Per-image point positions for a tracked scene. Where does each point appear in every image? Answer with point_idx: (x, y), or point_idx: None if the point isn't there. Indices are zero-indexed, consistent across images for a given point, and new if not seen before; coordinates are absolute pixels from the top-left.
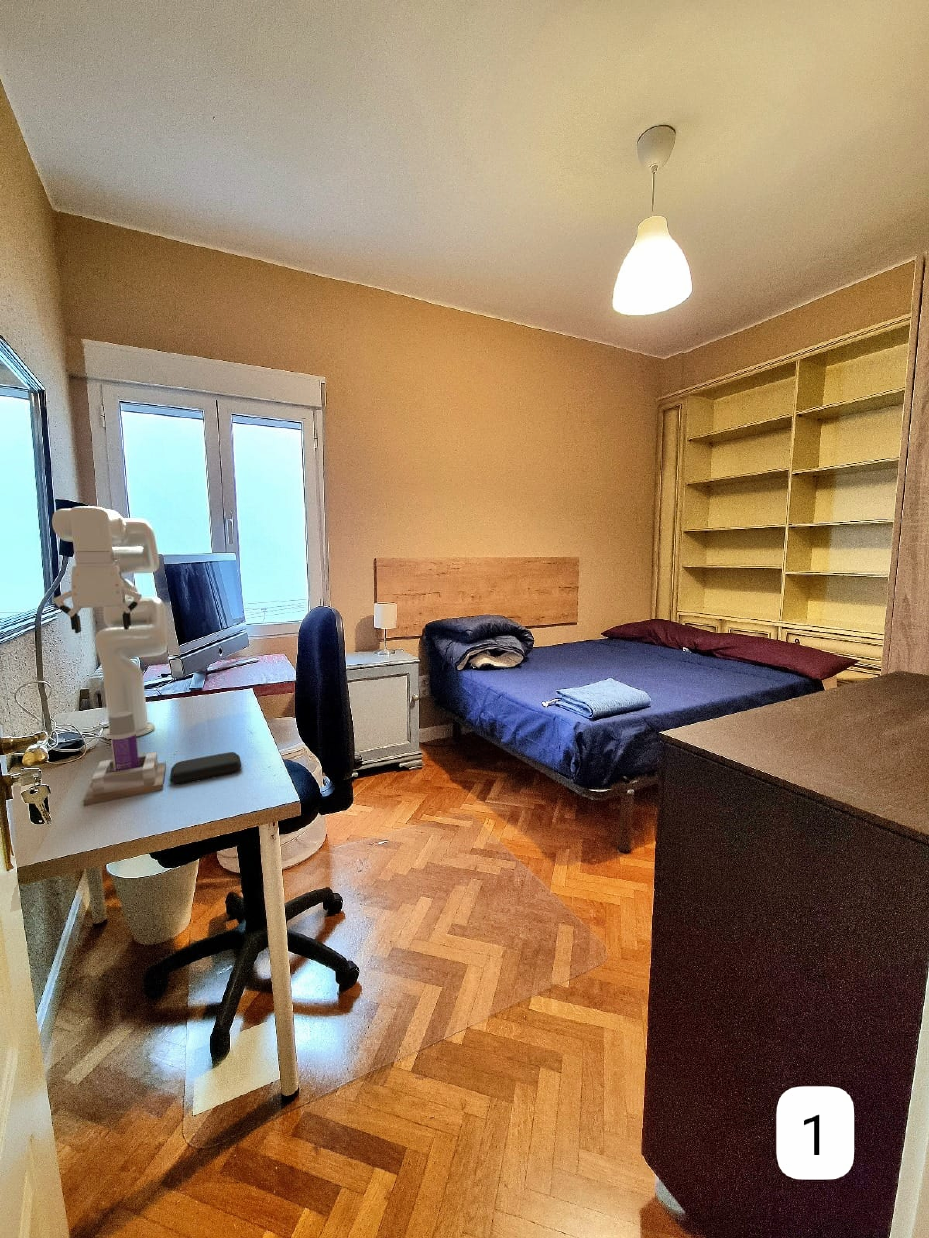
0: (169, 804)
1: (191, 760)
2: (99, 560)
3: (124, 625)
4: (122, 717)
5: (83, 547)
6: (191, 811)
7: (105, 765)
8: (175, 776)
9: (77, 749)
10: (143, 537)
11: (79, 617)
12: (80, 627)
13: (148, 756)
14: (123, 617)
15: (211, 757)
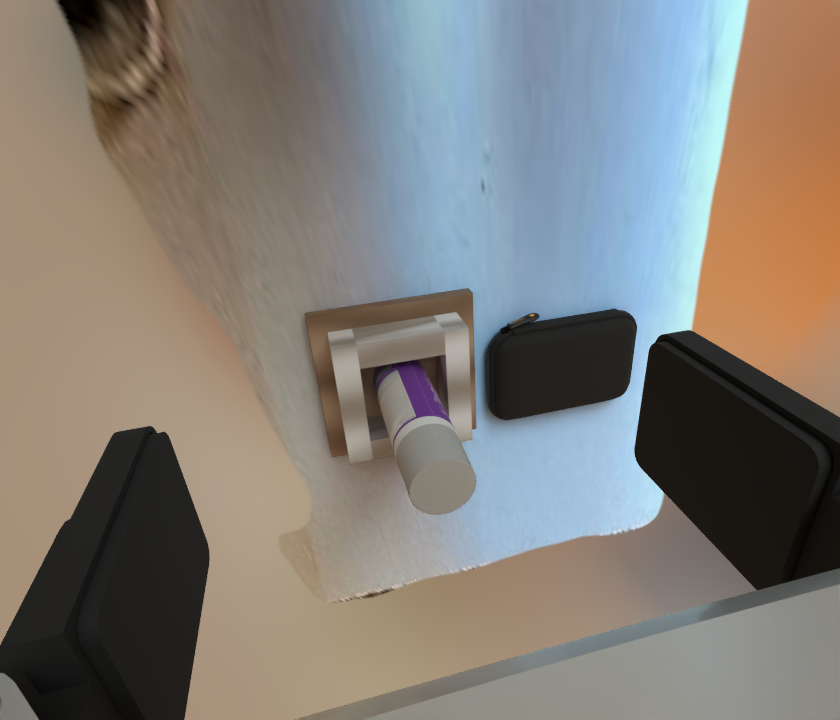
0: (489, 485)
1: (539, 354)
2: None
3: (668, 492)
4: (452, 509)
5: None
6: (523, 516)
7: (355, 388)
8: (503, 417)
9: None
10: None
11: (111, 611)
12: (161, 486)
13: (452, 359)
14: (739, 560)
15: (582, 352)
